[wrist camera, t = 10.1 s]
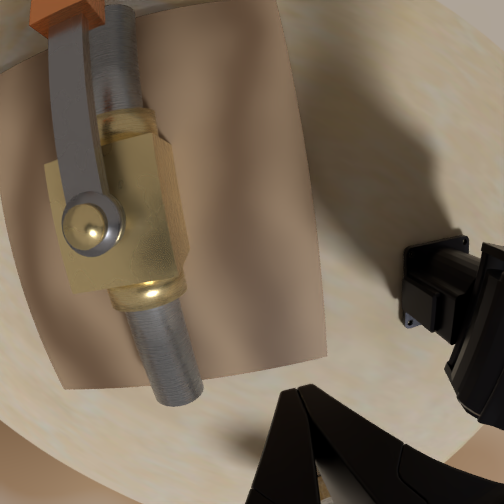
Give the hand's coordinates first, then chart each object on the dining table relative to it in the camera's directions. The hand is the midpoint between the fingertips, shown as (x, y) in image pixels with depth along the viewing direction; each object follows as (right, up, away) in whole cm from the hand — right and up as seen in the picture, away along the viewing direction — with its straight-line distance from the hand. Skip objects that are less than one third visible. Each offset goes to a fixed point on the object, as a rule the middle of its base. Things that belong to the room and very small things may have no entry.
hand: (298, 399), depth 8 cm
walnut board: (-8, +7, +11) cm, 15 cm away
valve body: (-8, +7, +11) cm, 15 cm away
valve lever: (-8, +11, +3) cm, 14 cm away
